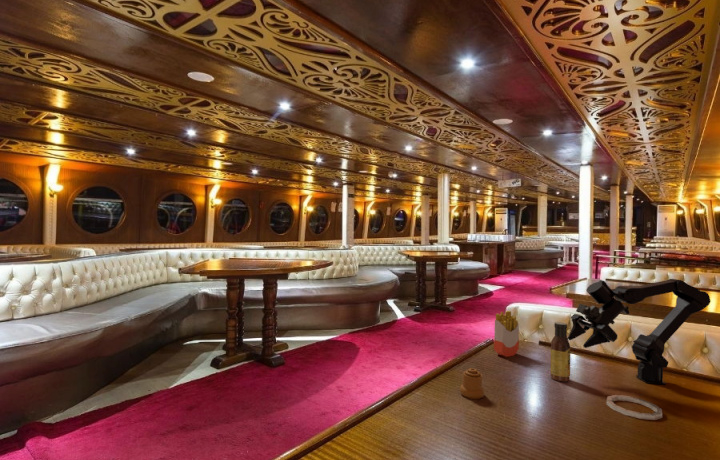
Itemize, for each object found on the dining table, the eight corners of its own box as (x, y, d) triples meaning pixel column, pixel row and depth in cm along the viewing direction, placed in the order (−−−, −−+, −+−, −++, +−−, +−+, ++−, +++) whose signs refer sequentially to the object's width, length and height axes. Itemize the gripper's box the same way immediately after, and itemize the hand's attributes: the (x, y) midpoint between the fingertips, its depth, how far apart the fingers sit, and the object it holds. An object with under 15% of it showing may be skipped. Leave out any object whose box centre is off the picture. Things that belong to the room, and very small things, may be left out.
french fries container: (519, 354, 164) (520, 312, 165) (502, 358, 159) (504, 314, 159) (510, 351, 168) (511, 310, 168) (493, 354, 163) (494, 312, 163)
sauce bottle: (572, 383, 134) (574, 326, 134) (552, 381, 135) (554, 324, 135) (566, 376, 140) (567, 322, 140) (547, 374, 141) (549, 320, 141)
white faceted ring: (643, 400, 121) (643, 397, 121) (673, 421, 108) (673, 417, 108) (598, 397, 122) (598, 393, 122) (622, 417, 109) (622, 413, 109)
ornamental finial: (466, 387, 127) (488, 395, 122) (455, 394, 121) (477, 402, 116) (467, 363, 127) (489, 369, 122) (456, 369, 121) (478, 375, 116)
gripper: (576, 292, 147) (547, 320, 147) (610, 301, 129) (576, 333, 128) (595, 313, 148) (566, 341, 147) (632, 325, 129) (599, 357, 128)
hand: (576, 343), depth 138 cm, fingers open, 9 cm apart
